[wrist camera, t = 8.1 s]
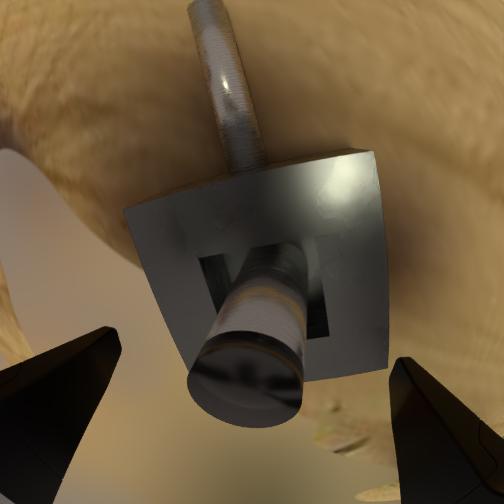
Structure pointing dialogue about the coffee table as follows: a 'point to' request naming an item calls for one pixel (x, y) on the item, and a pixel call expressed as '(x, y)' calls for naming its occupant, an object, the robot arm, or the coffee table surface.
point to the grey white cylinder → (257, 343)
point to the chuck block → (268, 227)
